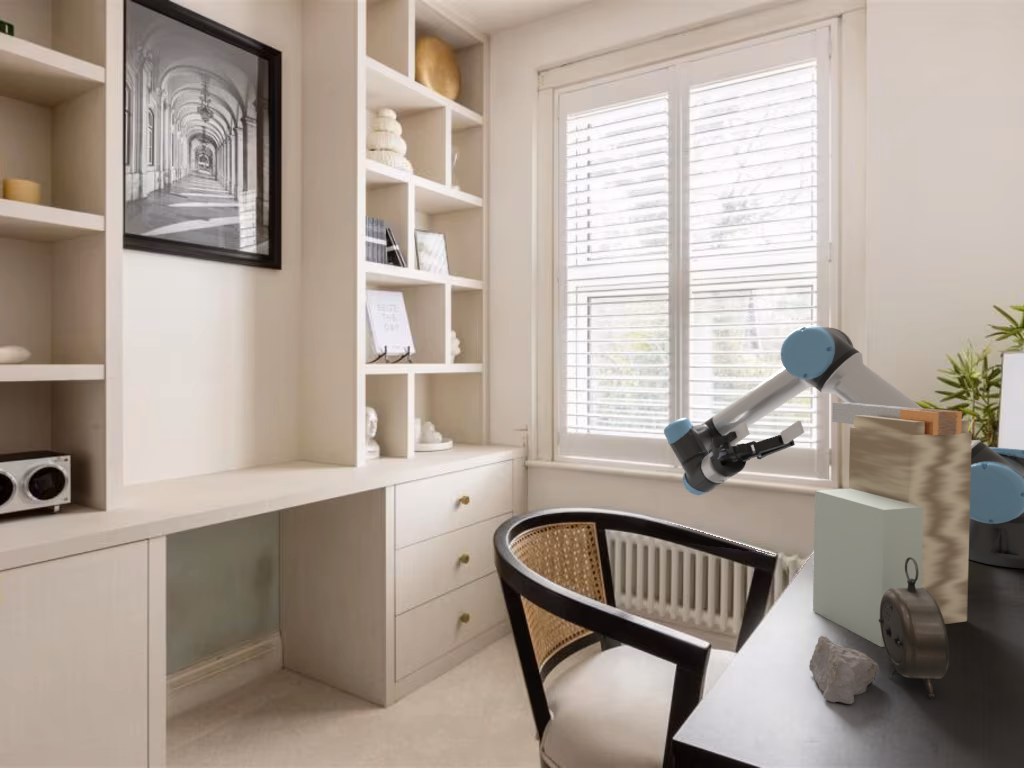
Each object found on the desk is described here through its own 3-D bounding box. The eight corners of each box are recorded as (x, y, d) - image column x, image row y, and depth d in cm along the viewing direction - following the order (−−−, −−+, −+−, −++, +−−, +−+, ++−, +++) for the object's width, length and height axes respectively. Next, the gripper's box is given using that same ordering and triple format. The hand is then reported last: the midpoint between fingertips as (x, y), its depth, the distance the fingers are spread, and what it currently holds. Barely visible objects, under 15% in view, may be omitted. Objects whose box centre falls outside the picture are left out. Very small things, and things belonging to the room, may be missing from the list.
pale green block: (848, 606, 109) (850, 488, 109) (920, 641, 96) (923, 506, 95) (813, 610, 108) (815, 490, 107) (881, 646, 94) (884, 509, 93)
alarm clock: (951, 705, 78) (954, 572, 78) (902, 700, 79) (904, 569, 79) (914, 663, 89) (917, 546, 88) (871, 659, 90) (873, 544, 89)
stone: (886, 716, 76) (887, 667, 76) (810, 702, 79) (810, 655, 79) (877, 678, 85) (878, 634, 85) (809, 667, 88) (809, 624, 88)
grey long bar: (852, 421, 121) (852, 402, 121) (961, 434, 100) (961, 411, 100) (827, 421, 120) (827, 402, 120) (932, 435, 99) (933, 412, 99)
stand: (903, 594, 115) (907, 413, 113) (966, 621, 103) (972, 420, 102) (846, 601, 112) (850, 415, 110) (905, 629, 100) (910, 422, 99)
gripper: (773, 475, 159) (828, 441, 141) (681, 479, 153) (727, 445, 134) (764, 446, 162) (817, 410, 144) (673, 449, 156) (717, 412, 138)
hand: (774, 427), depth 139 cm, fingers open, 13 cm apart
